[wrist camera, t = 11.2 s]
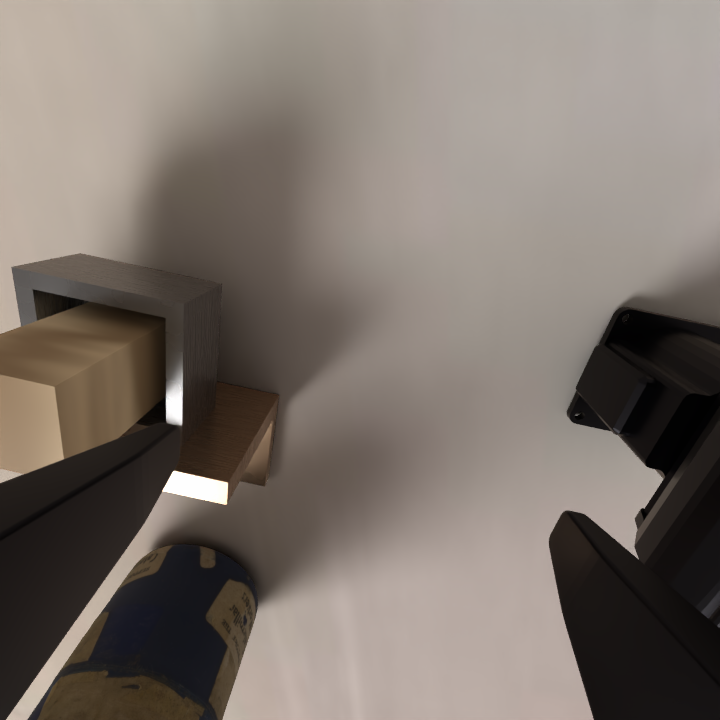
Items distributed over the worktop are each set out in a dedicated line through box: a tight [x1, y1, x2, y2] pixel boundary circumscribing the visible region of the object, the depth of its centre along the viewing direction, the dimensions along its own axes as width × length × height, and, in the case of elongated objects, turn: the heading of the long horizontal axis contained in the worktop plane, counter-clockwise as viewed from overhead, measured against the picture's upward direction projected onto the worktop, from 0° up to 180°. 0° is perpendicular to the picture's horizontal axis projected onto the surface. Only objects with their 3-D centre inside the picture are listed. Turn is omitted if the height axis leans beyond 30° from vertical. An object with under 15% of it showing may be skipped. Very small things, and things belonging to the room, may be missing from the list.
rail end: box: [0, 302, 166, 474], centre depth 15 cm, size 4×4×7 cm
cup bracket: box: [12, 253, 279, 505], centre depth 19 cm, size 12×13×8 cm
